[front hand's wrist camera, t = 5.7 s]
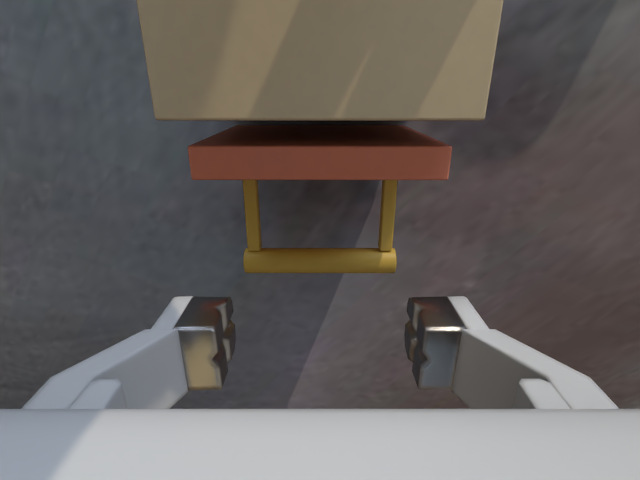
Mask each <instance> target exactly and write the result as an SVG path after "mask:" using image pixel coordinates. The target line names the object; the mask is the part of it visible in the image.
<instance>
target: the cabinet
mask: <svg viewBox="0 0 640 480" xmlns="http://www.w3.org/2000/svg"><path fill="white" fill-rule="evenodd" d="M502 6H503V0H137V7H138V13H139V19H140V26H141V32H142V38H143V45H144V51H145V57H146V64H147V70H148V76H149V83H150V89H151V95H152V102H153V108H154V114H155V119H156V120H296V121H482V120H484V118H485V114H486V107H487V101H488V95H489V88H490V82H491V76H492V69H493V63H494V57H495V51H496V44H497V38H498V32H499V25H500V19H501V13H502Z"/></svg>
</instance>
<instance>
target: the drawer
mask: <svg viewBox="0 0 640 480" xmlns="http://www.w3.org/2000/svg"><path fill="white" fill-rule="evenodd" d="M451 153H452V146H449V145H447V144H445V143H443V142H440V141H438V140H436V139H433V138H431V137H429V136H426V135H424V134H422V133H420V132H417V131H415V130H413V129H410V128H408V127H406V126H403V125H237V126H234V127H232V128H230V129H227V130H225V131H223V132H220V133H218V134H216V135H213V136H211V137H209V138H206V139H204V140H202V141H199V142H197V143H195V144H192V145H190V146H188V154H189V162H190V169H191V177H192V179H193V180H243V193H244V205H245V218H246V231H247V244H248V248H246V249H245V251H244V259H243V263H244V270H245V272H246V273H394V272H395V270H396V252H395V249H394V248H392V243H393V230H394V218H395V205H396V193H397V180H447V179H448V176H449V168H450V161H451ZM258 180H382V195H381V211H380V227H379V242H378V247H379V248H261V246H262V243H261V228H260V212H259V196H258Z"/></svg>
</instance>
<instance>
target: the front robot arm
mask: <svg viewBox="0 0 640 480" xmlns="http://www.w3.org/2000/svg"><path fill="white" fill-rule="evenodd" d="M232 313H233V305H232V300H231V298H230V297H196V296H195V297H193V296H177V297H174V298H173V299H172V300H171V301H170V303H169V304H168V306H167V307H166V308H165V310H164V311H163V313H162V314H161V315H160V317H159V318H158V320H157V321H156V322H155V324H154V325H153V327H152V328H151V329H145V330H143V331H141V332H139V333H137V334H135V335H133V336H131V337H129V338H127V339H125V340H123V341H121V342H119V343H117V344H115V345H113V346H111V347H109V348H107V349H105V350H103V351H101V352H99V353H97V354H95V355H93V356H91V357H89V358H87V359H85V360H83V361H81V362H80V363H78V364H76V365H74V366H72V367H70V368H68V369H66V370H64V371H62V372H60V373H58V374H56V375H54V376H52V377H50V378H49V379H48V381H47V382H46V383H45V384H44V385H43V386H42V387H41V388H40V389H39V390H38V391H37V392H36V393H35V394H34V395H33V396H32V397H31V399H30V400H29V401H28V402H27V403H26V404H25V405H24V406H23V407H22V408H21V409H0V480H640V409H619V408H618V407H617V406H616V405H615V404H614V403H613V402H612V401H611V400H610V398H609V397H608V396H607V395H606V394H605V393H604V392H603V391H602V390H601V389H600V388H599V387H598V386H597V385H596V384H595V382H594V381H593V380H592V379H591V378H590V377H588V376H586V375H584V374H582V373H580V372H578V371H576V370H574V369H572V368H570V367H568V366H566V365H564V364H562V363H560V362H558V361H556V360H554V359H552V358H550V357H548V356H546V355H544V354H543V353H541V352H539V351H537V350H535V349H533V348H531V347H529V346H527V345H525V344H523V343H521V342H519V341H517V340H515V339H513V338H511V337H509V336H507V335H505V334H503V333H501V332H499V331H497V330H495V329H489V328H488V327H487V325H486V324H485V323H484V321H483V320H482V318H481V317H480V316H479V314H478V313H477V311H476V310H475V309H474V307H473V306H472V305H471V303H470V302H469V300H468V299H467V298H466V297H464V296H452V297H411V298H409V300H408V303H407V314H408V316H409V319H410V320H409V321H408V322H407V324H406V325H405V335H404V336H405V348H406V353H407V357H408V359H409V360H410V361H412V362H413V367H412V372H413V375H414V378H415V381H416V384H417V387H418V389H432V390H452V392H453V393H454V394H455V395H456V396H457V397H458V398H459V399H460V400H462V401H463V402H464V403H465V404H466V405H467V406H468V407H469V408H470V409H170V408H171V407H172V406H173V405H174V404H175V403H176V402H177V401H179V400H180V399H181V398H182V397H183V396H184V395H185V394H186V393H187V392H188V390H207V389H222V387H223V384H224V381H225V378H226V375H227V372H228V367H227V362H228V361H230V360H231V359H232V356H233V353H234V348H235V325H234V324H233V323H232V321H231V320H230V319H231V316H232Z"/></svg>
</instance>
